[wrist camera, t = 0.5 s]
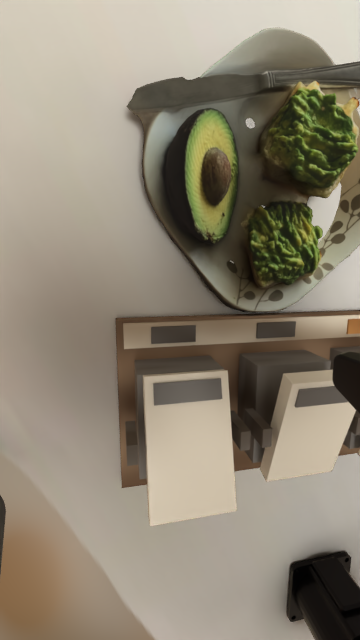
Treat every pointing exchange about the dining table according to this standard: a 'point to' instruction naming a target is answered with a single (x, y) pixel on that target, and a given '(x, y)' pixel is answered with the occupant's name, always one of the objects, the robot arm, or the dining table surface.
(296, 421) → the switch middle
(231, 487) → the switch
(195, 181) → the salad plate
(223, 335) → the switch console
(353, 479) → the dining table surface
